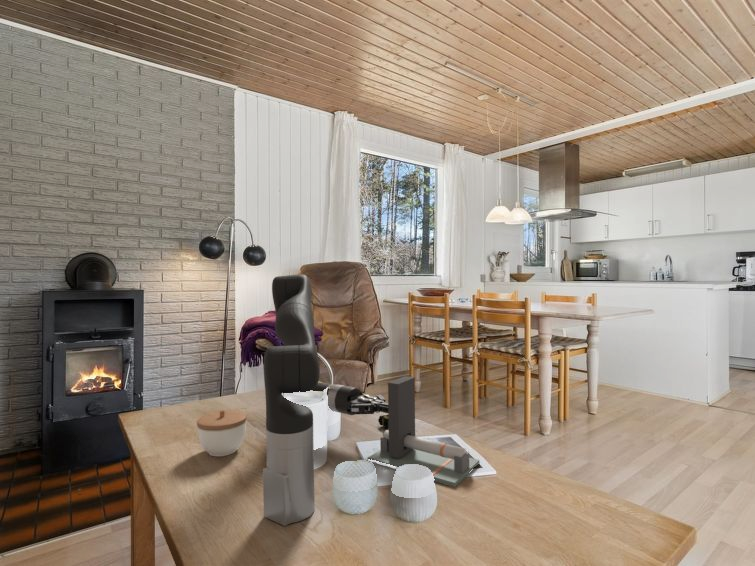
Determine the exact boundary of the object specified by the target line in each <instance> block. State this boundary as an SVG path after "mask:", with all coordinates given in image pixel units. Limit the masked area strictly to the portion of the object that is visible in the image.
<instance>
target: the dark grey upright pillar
mask: <svg viewBox="0 0 755 566" xmlns="http://www.w3.org/2000/svg"><path fill="white" fill-rule="evenodd" d="M415 378H416V377H412V376H402V377H399V378H397V379H394V380H391V381H388V382H387V398H388V400H387V403H388V413H387V415H388V417H389V429H388V430H389V456H391V457H395V458H401V457H402V456H404V455H405V454H407V453H408V452H410V451H411V450H413V449H411V448H407V447H404V436H405V435H411V436H415V437H416V405H415V404H416V400H415V399H416V398H415V397H416V396H415V395H416V393H415V392H416V391H415V389H416V386H415Z"/></svg>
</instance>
